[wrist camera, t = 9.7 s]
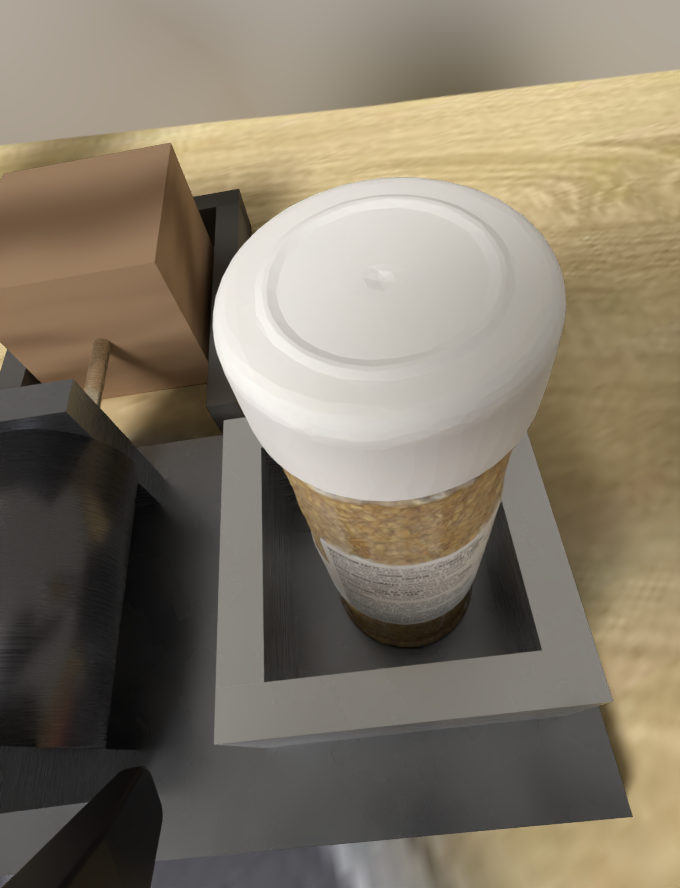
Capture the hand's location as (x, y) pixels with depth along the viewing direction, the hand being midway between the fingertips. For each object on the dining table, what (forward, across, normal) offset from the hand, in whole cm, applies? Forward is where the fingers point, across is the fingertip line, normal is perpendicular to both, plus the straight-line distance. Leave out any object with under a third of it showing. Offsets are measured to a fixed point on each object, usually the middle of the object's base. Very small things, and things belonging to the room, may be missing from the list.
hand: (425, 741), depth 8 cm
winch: (+12, +4, +1) cm, 13 cm away
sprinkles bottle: (+10, 0, +2) cm, 10 cm away
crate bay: (+21, +10, -8) cm, 24 cm away
